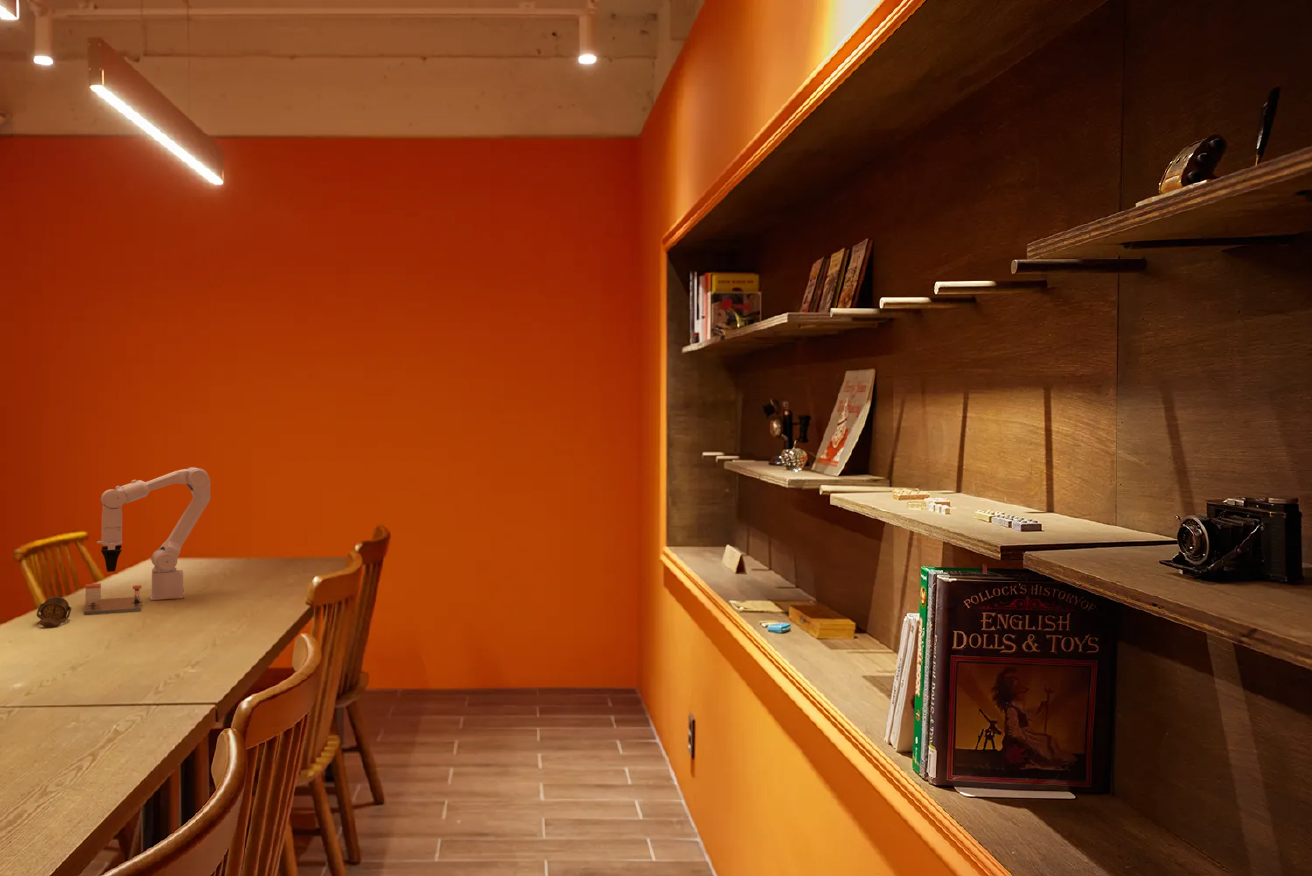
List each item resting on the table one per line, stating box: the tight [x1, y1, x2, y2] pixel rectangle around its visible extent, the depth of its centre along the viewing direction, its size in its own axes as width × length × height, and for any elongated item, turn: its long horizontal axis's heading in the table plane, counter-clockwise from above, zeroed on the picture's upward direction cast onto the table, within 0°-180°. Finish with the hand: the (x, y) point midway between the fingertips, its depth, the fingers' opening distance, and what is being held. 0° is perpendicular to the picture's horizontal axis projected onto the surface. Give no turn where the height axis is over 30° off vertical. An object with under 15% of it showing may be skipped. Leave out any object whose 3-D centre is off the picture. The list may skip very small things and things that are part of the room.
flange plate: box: [83, 584, 143, 616], centre depth 301 cm, size 15×20×6 cm
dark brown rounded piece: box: [36, 595, 72, 629], centre depth 277 cm, size 7×13×10 cm
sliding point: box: [85, 583, 102, 605], centre depth 298 cm, size 4×4×6 cm
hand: (111, 569), depth 308 cm, fingers open, 7 cm apart
